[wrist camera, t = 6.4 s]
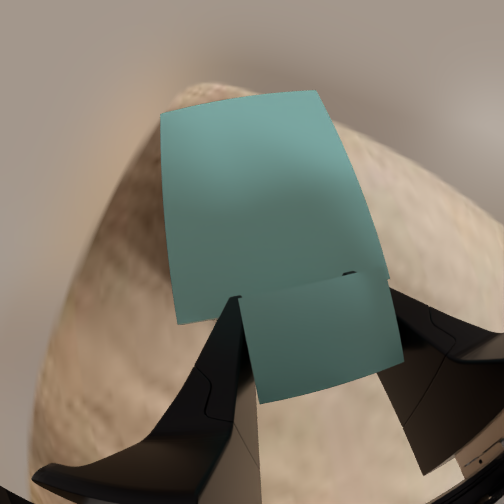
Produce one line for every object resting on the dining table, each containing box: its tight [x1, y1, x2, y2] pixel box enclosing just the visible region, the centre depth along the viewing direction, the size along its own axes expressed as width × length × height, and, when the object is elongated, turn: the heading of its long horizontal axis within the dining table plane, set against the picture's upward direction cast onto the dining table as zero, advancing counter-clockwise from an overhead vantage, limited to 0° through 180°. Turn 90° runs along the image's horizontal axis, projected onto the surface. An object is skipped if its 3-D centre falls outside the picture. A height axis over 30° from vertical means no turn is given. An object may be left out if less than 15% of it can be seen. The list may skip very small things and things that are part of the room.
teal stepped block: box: [160, 90, 404, 404], centre depth 12 cm, size 14×9×10 cm, turn 11°
